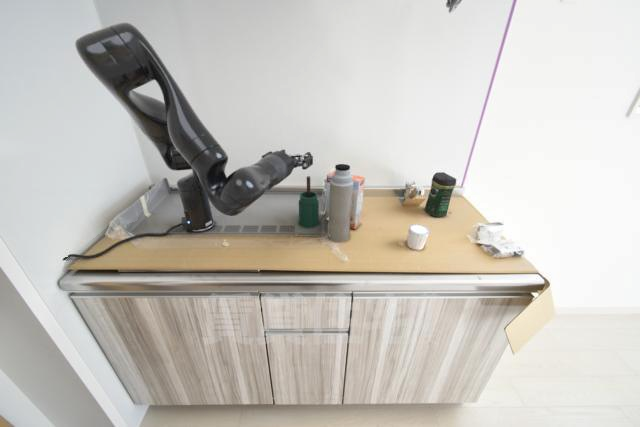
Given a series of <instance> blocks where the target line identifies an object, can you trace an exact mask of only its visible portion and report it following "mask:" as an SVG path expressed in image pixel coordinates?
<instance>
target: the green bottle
mask: <svg viewBox="0 0 640 427" xmlns="http://www.w3.org/2000/svg"><path fill="white" fill-rule="evenodd" d="M319 208H320V201H319V200H318V193H317V192H315V191H311V190H310V198H307V190H306V191H302V192H300V193H299V200H298V224H299V226H300V227H303V228H305V229H312V228H316V227H317V226H318V225H319V221H320V220H319V219H320V218H319V217H320V216H319V214H320V213H319V211H320V209H319Z"/></svg>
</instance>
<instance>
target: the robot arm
mask: <svg viewBox="0 0 640 427" xmlns="http://www.w3.org/2000/svg"><path fill="white" fill-rule="evenodd" d="M74 46H75V49H76V52H77V54H78V56H79V58H80V59H81V61H82V62H83V64H84V65H85V66H86V68H87V69H88V70H89V71H90V73H91V74H92V75H93V77H95V78H96V79H97V80H98V82H99V83H101V85H102V86H103V87H104V88H105V90H107V92H108V93H110V94H111V95H112V97H114V99H115V100H116V101H117V102H118V103H119V104H120V106H121V107H122V108H123V109H124V110H125V111H126V112H127V114H128V115H129V116H130V118H131V119H132V120H133V122H134V123H135V125H136V126H137V128H138V129H139V130H140V131H141V133H142V134H143V135H144V136H145V137H146V139H147V140H148V141H149V142H150V143H151V145H152V146H153V147H154V148H155V149H156V151H157V152H158V154H159V156H160V157H161V159H162V161H163V163H164V164H165V166H166V167H167V168H168V169H169V170H171V171H174V172H175V171H177V172H179V171H189V170H190V171H191V172H190V173H189V174H187V175H185V176H182V177H181V178H179V179H178V180H177V181H176V188H177V191H178V194H179V198H180V201H181V204H182V209H183V213H184V216H182V217H181V222H180V223H178V224H176V225H173V226H172V227H170V228H169V229H167V231H165V232H162V233H150V232H148V233H147V232H146V233H141V234H137V235H133V236H130V237H127V238H124V239H122V240H120V241H117V242H115V243H113V244H112V245H110V246H109V247H107V248H106V249H104V250H102V251H100V252H98V253H95V254H91V255H83V254H75V253H71V254H67V255H68V257H65V256H64V257H65V258H64V257H63V258H62V261H66V260H68V259H69V258H78V259H93V258H96V257H100V256H102V255H104V254H106V253H108V252H109V251H110V250H112V249H114V248H115V247H117V246H118V245H121V244H123V243H126V242H128V241H131V240H134V239H138V238H141V237H142V238H143V237H148V236H149V237H163V236H166V235H168V234H169V233H170V232H172V231H173V230H174V229H177V228H179V227H181V226H182V229H183V231H186V230H188V231H189V233H202V232H206V231H209V230H210V229H212V228H214V226H215V220H214V217H213V212H212V208H211V205H212V206H213V207H214V208H215V209H216V210H217V211H218V212H220V213H221V214H223V215H225V216H228V217H235V216H238V215H240V214H242V213H243V212H244V211H245V210H247V208H249V207H250V206H251V205H252V204H254V203H255V202H256V201H258V199H260V198H261V197H262V196H263V195H264V194H266V193H267V192H269V191H270V190H272V189H273V188H274V187H275V186H277V185H279V184H280V183H281V182H283V181H284V180H286V179H287V178H288V177H289V176H290V175H291V174H292V172H293V170H294V169H296V168H300V167H301V169H302V170H307V169H309V168H310V167H311V166H313V165H314V156H313V155H312V153H311V152H310V151H307V152H306V153H304V154H300V153H296V154H288V153H286V150H285V149H281V150H275V151H271V150H270V151H268V152H266V153H265V154H263V155H261V158H260V159H259V160H258V161H256V162H255V163H253V164H251V165H247V166H242V167H239V168H237V169H235V170H234V171H232V172H231V173H230V174H228V176H227V174H226V167H227V164H228V162H229V155H228V154H227V152H226V150H225V149H224V147H222V145H221V144H220V143H219V142H218V140H217V139H216V137H214V135H213V134H212V133H211V131H210V130H209V129H208V127H206V125H205V124H204V123H203V121H202V120H201V119H200V117H199V115H198V114H197V113H196V111H195V110H194V108H193V107H192V105H191V103H190V102H189V100H188V98H187V97H186V95H185V94H184V92H183V91H182V89H181V87H180V86H179V84H178V83H177V81H176V80H175V78H174V77H173V75H172V73H171V72H170V71H169V69H168V68H167V66H166V64H165V63H164V61H163V60H162V58H161V57H160V56H159V54H158V53H157V51H156V50H155V48H154V47H153V45H152V44H151V43H150V41H149V40H148V39H147V38H146V37H145V36H144V34H143V33H142V32H141V31H140V29H139V28H137V27H136V26H135V25H133V24H132V23H129V22H119V23H115V24H112V25H109V26H106V27H103V28H100V29H97V30H94V31H92V32H89V33H86V34H84V35H82V36H80V37H78V38H77V39H76V40H75V42H74ZM153 81H155V83H156V84H157V85H158V87H159V89H160V92H161V94H162V98H163V101H162V100H159V99H158V98H155V97H152V96H149V95H147V94H143V93H141V92H138V91H136V90H135V89H137V88H139V87H142V86H144V85H146V84H150V83H151V82H153Z"/></svg>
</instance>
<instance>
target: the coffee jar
mask: <svg viewBox="0 0 640 427" xmlns="http://www.w3.org/2000/svg"><path fill="white" fill-rule="evenodd" d="M456 185H457V178H456V177H453V176H452V175H450V174H447V173H446V172H445V171H443V172H441V171H440V172H436V173H434V174H433V176H432V179H431V186H430V190H429V193H428V197H427V200H426V203H425V206H424V210H425V212H427V213H428V214H429V215H430V216H432V217H437V218H443V217H446V216H447V215H448V210H449V206H450V202H451V199H452V194H453V192H454V189H455V188H456Z"/></svg>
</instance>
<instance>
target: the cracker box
mask: <svg viewBox="0 0 640 427" xmlns="http://www.w3.org/2000/svg"><path fill="white" fill-rule="evenodd" d="M334 173H335V170H333V171H331V172H330V173H327V174H326V185H325V186H326V187H325V221H326V222H328V221H327V219H326V218H328V217H329V203H330V181H331V180H332V177H333V174H334ZM351 175H352V181H353V183H354V184H353V195H352V206H351V218H350V230H356V229H357V228H358V226H360V224H361V220H362V209H363V201H364V200H363V199H364V191H365V182H366V177H364V176H360V175H357V174H356V175H355V174H351Z"/></svg>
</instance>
